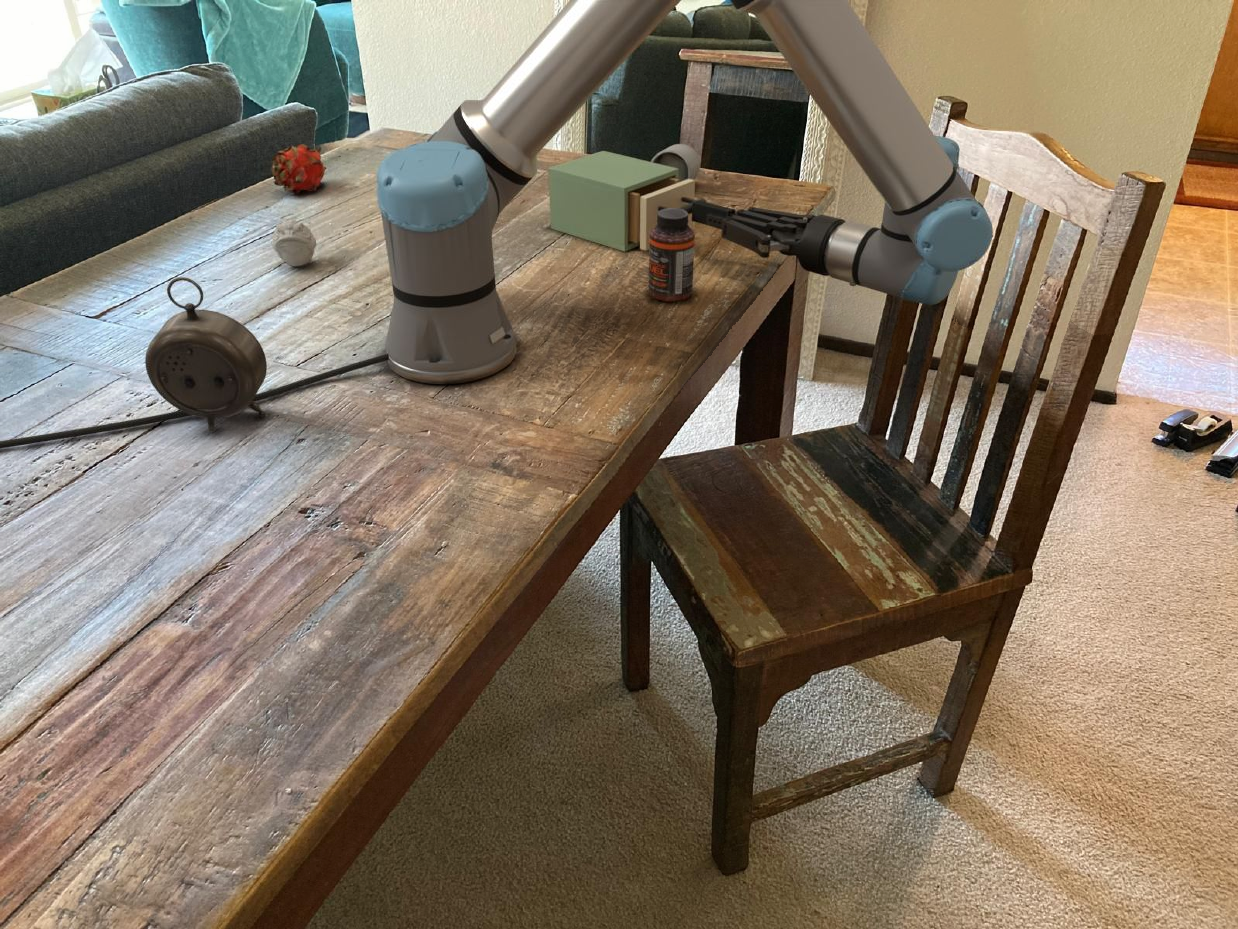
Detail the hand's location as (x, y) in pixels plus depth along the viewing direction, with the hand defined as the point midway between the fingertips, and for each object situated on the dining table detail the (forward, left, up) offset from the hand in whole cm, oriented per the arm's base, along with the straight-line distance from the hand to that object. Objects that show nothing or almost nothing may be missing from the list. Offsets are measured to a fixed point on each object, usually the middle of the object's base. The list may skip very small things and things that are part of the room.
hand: (695, 210), depth 134 cm
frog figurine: (-48, +33, -7) cm, 58 cm away
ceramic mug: (+17, +26, -7) cm, 32 cm away
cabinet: (-3, +16, -6) cm, 17 cm away
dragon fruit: (-33, +67, -7) cm, 75 cm away
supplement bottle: (-13, -9, -7) cm, 17 cm away
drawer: (-2, +10, -6) cm, 11 cm away
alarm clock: (-72, -4, -7) cm, 72 cm away
